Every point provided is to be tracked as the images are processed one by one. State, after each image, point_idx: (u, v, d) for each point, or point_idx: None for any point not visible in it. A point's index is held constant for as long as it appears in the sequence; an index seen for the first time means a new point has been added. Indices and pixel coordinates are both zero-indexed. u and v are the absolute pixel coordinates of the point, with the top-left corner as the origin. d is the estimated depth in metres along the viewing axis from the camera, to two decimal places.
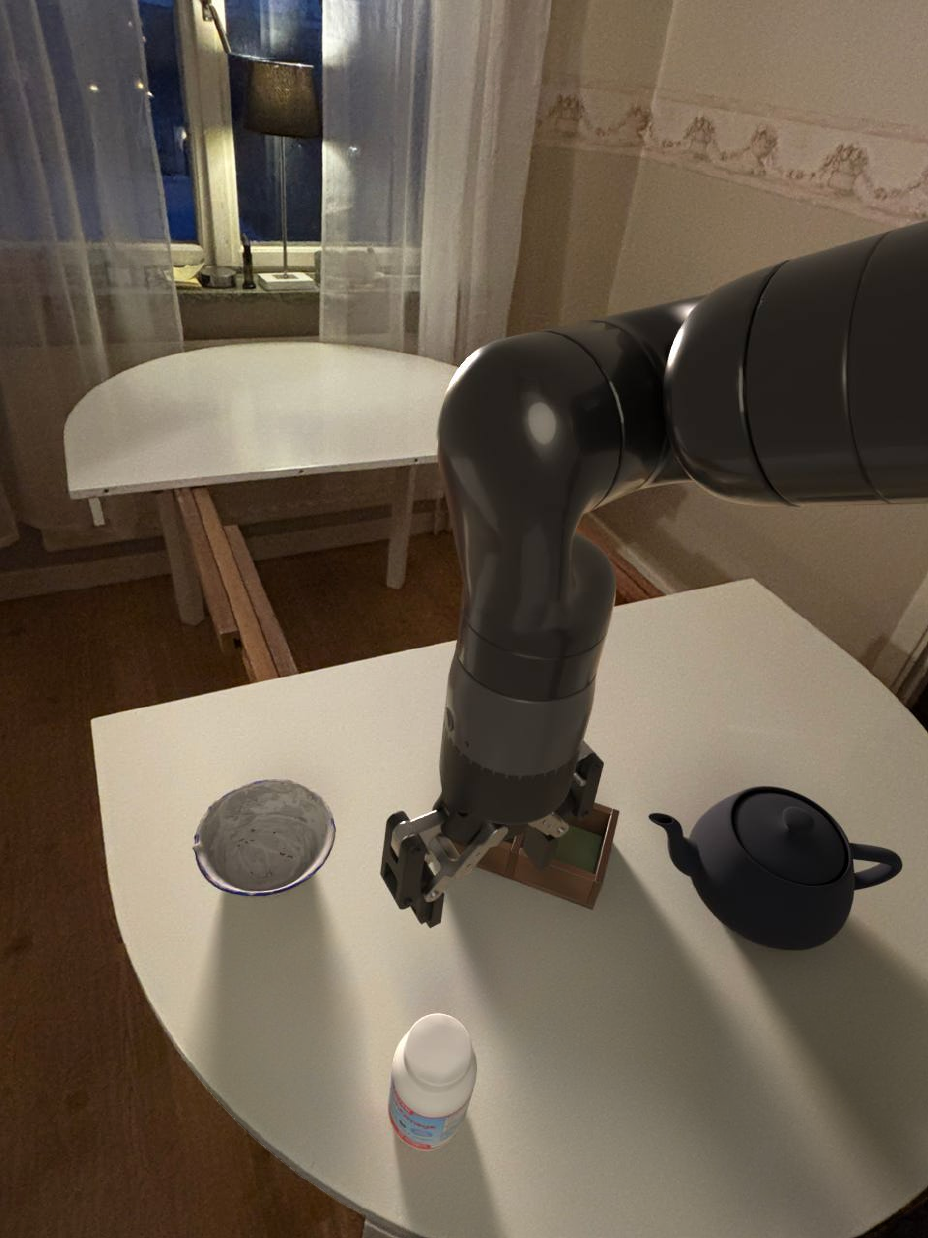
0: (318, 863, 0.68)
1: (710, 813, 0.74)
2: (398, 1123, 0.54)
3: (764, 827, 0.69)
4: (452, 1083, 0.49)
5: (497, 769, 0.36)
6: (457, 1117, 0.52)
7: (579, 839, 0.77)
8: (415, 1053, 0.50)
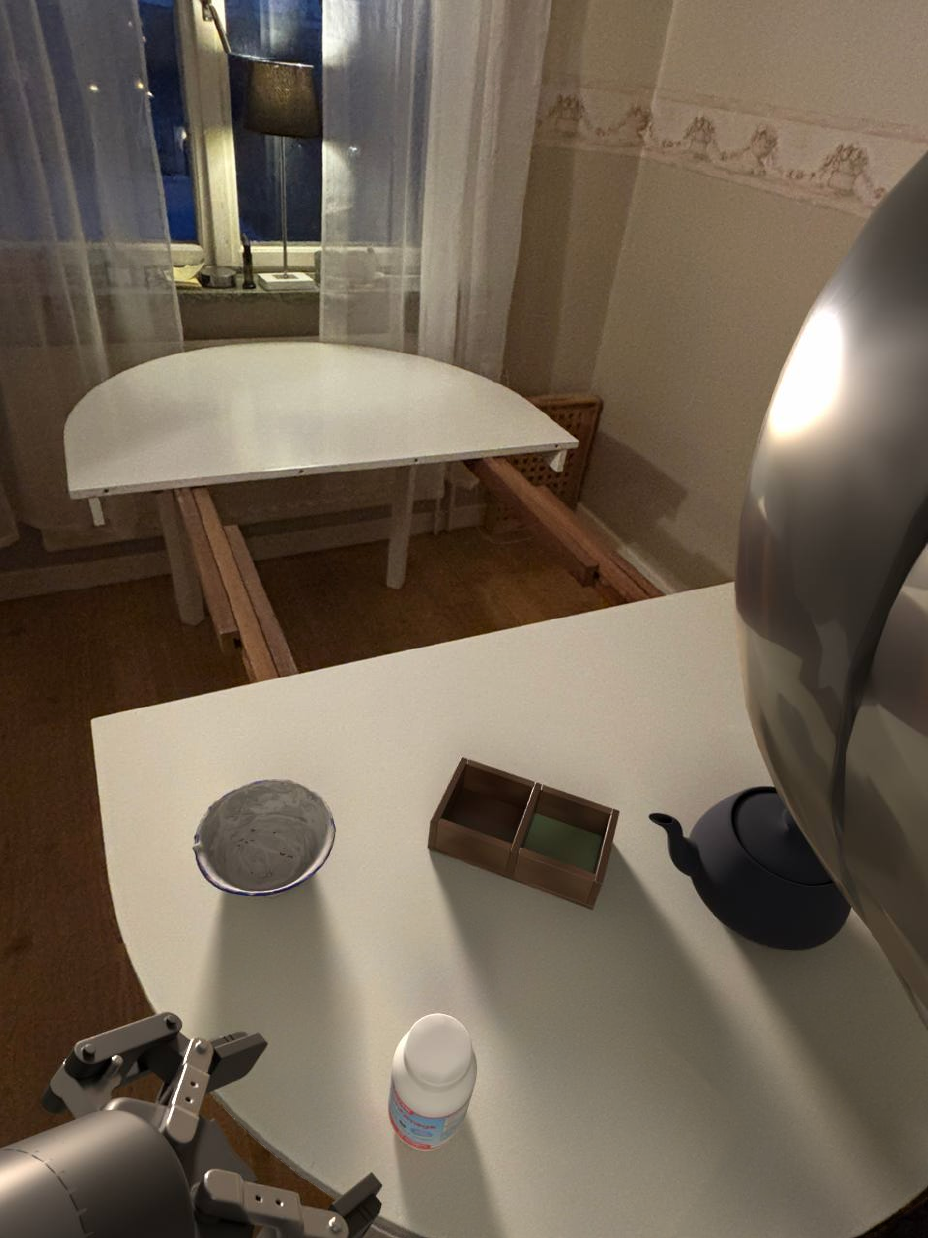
0: (318, 863, 0.68)
1: (710, 813, 0.74)
2: (398, 1123, 0.54)
3: (764, 827, 0.69)
4: (452, 1083, 0.49)
5: None
6: (457, 1117, 0.52)
7: (579, 839, 0.77)
8: (415, 1053, 0.50)
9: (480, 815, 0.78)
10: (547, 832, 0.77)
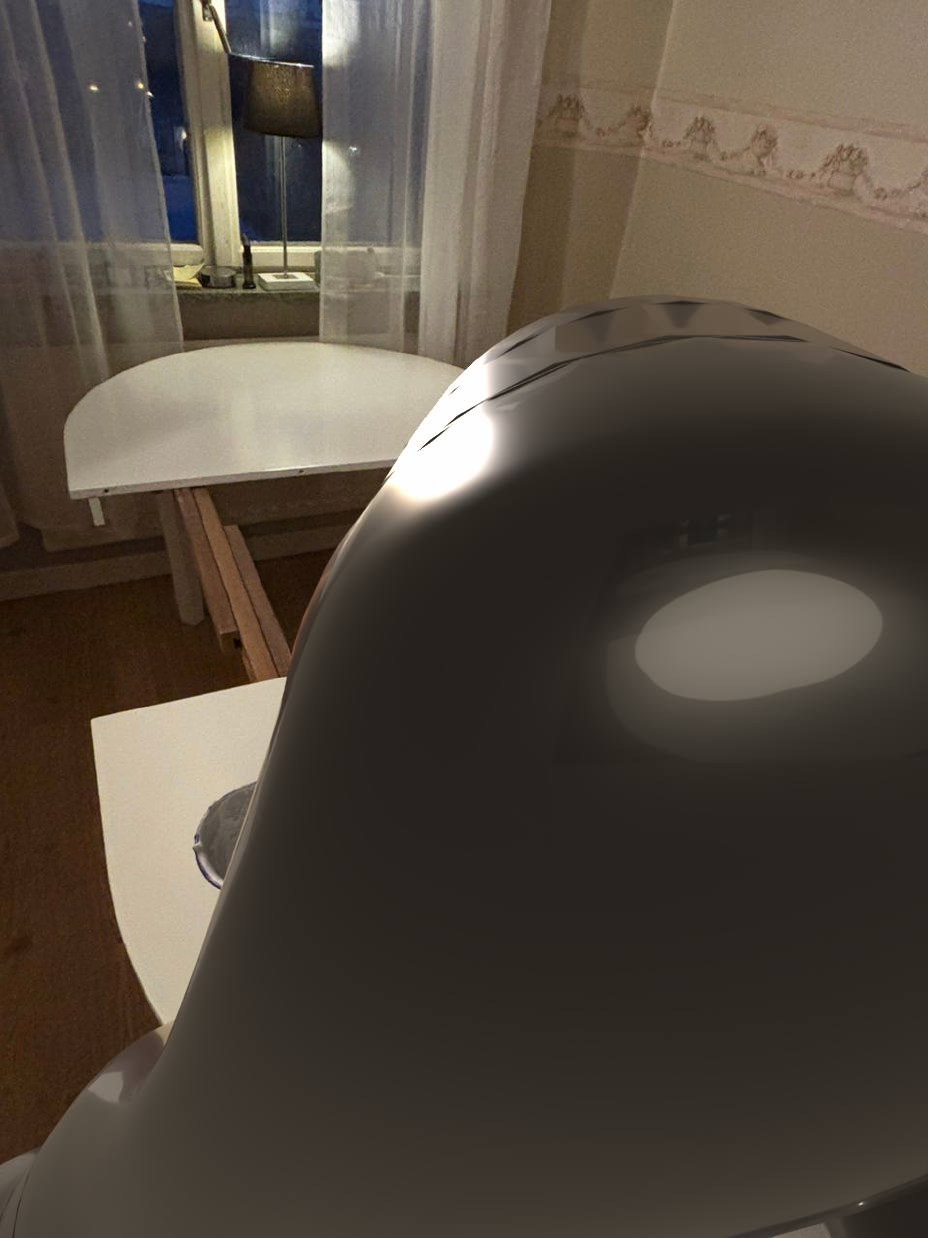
0: None
1: None
2: None
3: None
4: None
5: None
6: None
7: None
8: None
9: None
10: None
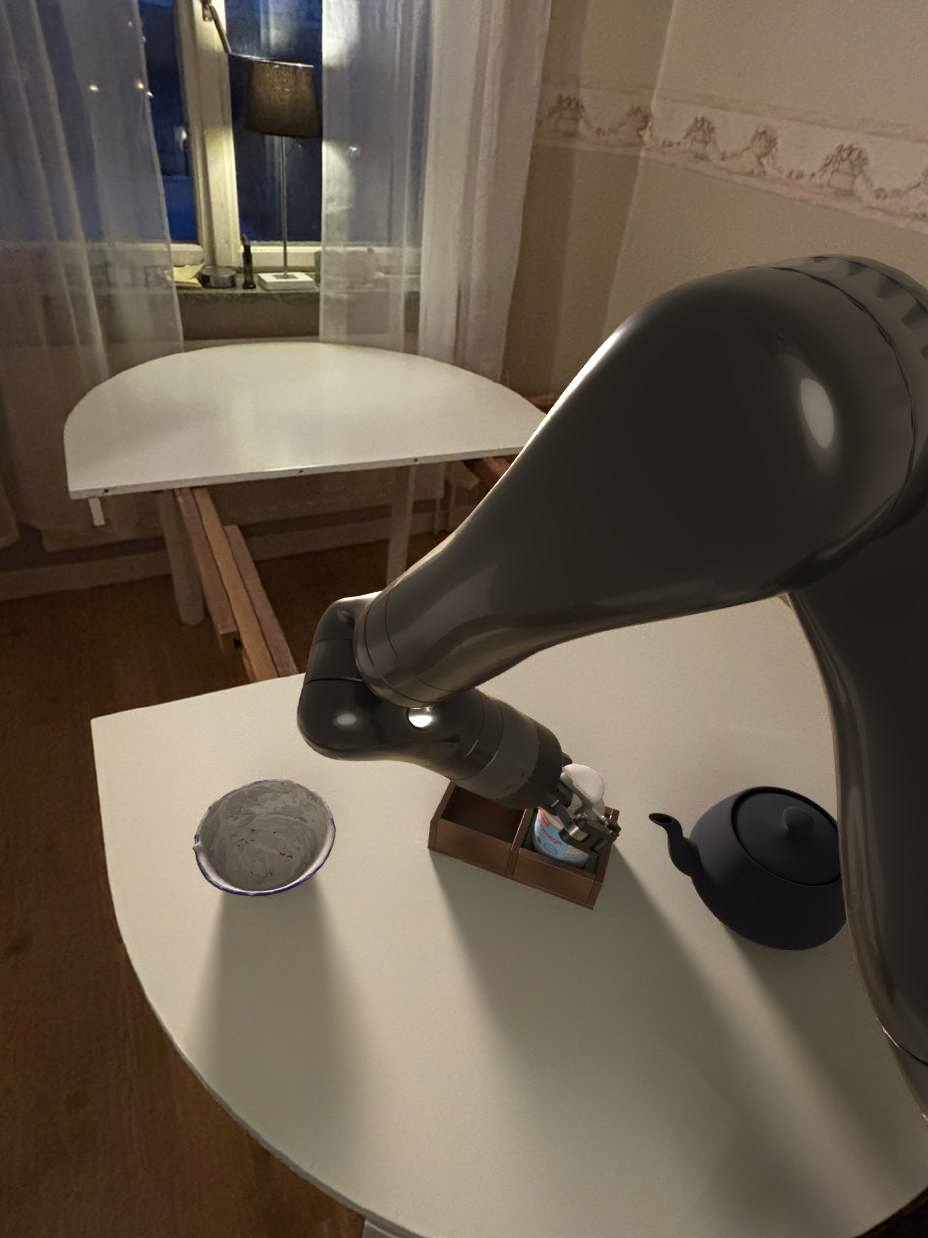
0: (318, 863, 0.68)
1: (710, 813, 0.74)
2: (536, 841, 0.73)
3: (764, 827, 0.69)
4: None
5: (536, 756, 0.57)
6: None
7: None
8: None
9: (480, 815, 0.78)
10: None
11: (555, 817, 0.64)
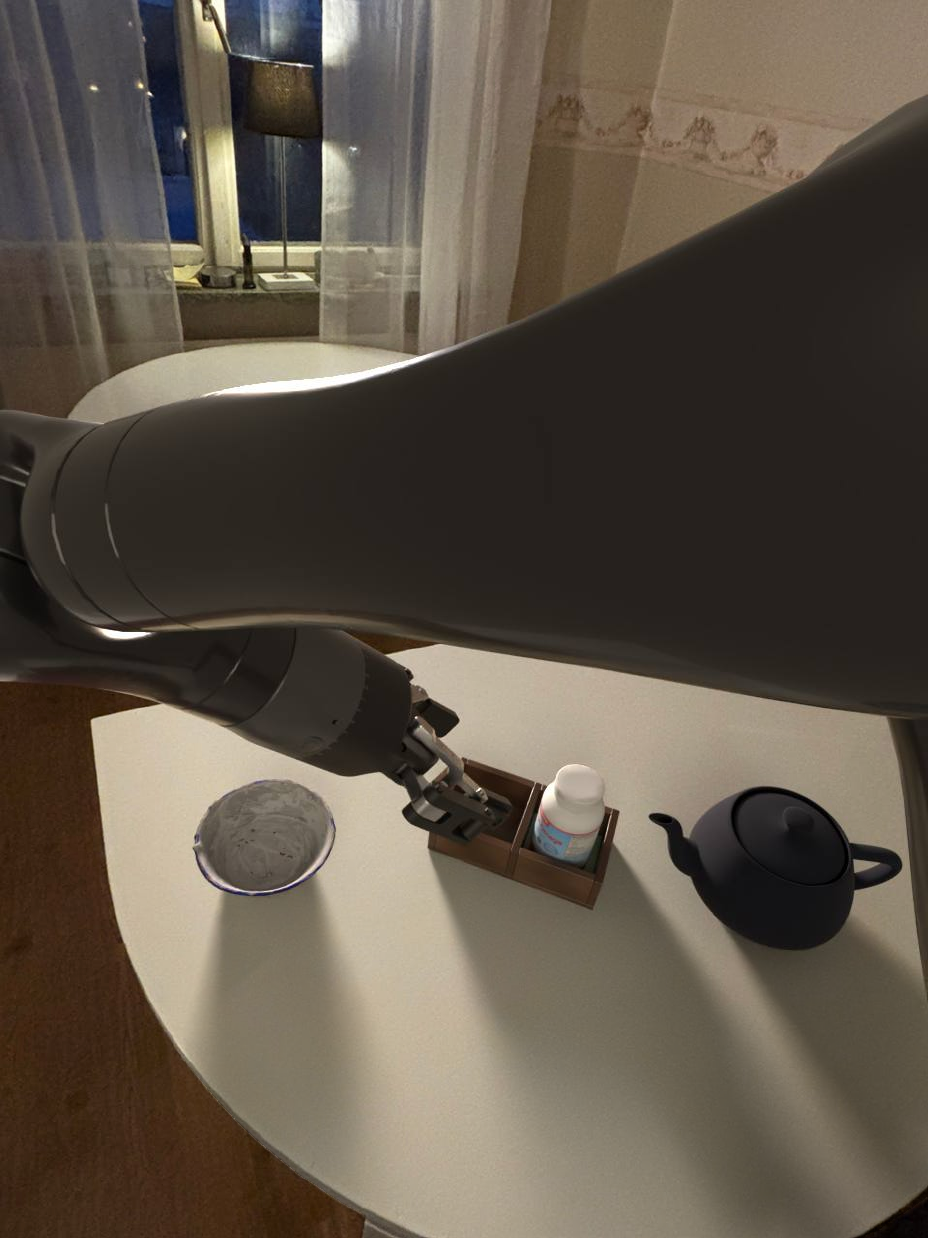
0: (318, 863, 0.68)
1: (710, 813, 0.74)
2: (536, 841, 0.73)
3: (764, 827, 0.69)
4: (583, 804, 0.67)
5: (359, 694, 0.39)
6: (579, 845, 0.70)
7: None
8: (563, 779, 0.69)
9: None
10: None
11: None
